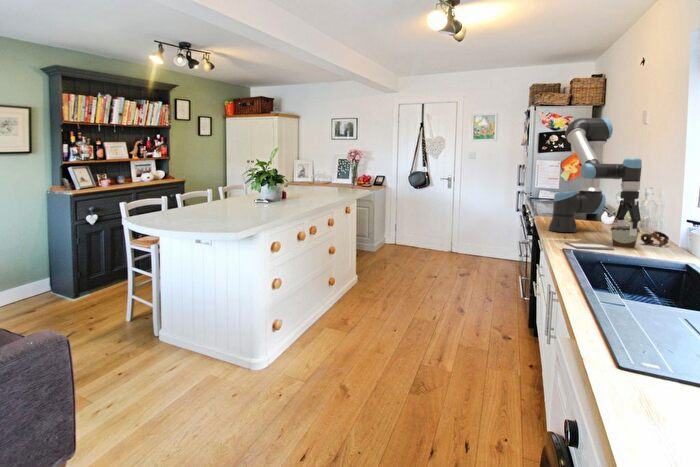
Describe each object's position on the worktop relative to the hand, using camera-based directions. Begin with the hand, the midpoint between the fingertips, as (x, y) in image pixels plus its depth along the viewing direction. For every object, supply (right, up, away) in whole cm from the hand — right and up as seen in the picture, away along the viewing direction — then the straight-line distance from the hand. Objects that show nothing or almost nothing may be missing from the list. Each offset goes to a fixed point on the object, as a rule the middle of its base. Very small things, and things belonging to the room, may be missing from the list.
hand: (626, 234), depth 209 cm
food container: (0, -7, +1) cm, 7 cm away
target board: (-19, -6, 0) cm, 20 cm away
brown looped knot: (+18, -7, +10) cm, 21 cm away
